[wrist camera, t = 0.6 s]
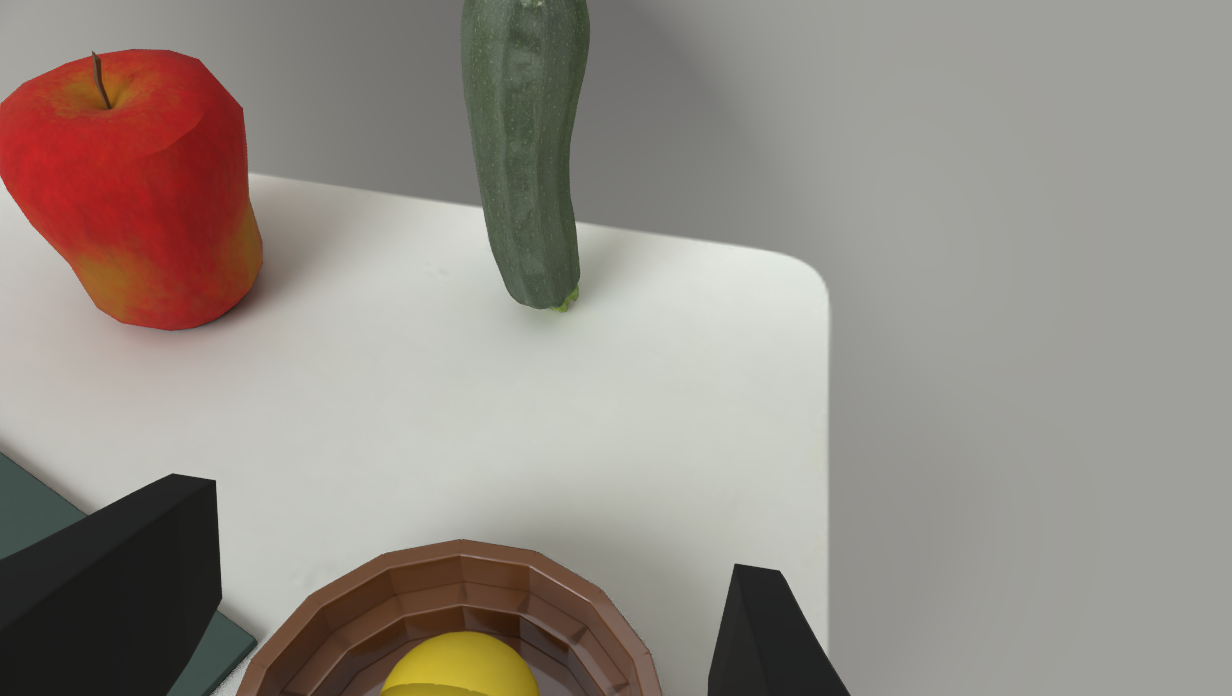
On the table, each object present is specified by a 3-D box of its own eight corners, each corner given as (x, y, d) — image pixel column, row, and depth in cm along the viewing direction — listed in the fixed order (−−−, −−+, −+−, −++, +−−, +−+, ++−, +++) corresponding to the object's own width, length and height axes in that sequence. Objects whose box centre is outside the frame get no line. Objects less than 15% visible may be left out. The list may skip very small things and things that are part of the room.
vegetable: (520, 360, 40) (501, -130, 25) (461, 302, 42) (410, -184, 27) (600, 313, 42) (627, -167, 27) (540, 260, 44) (534, -214, 29)
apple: (240, 203, 45) (166, -32, 36) (321, 306, 41) (258, 70, 32) (54, 275, 42) (-80, 32, 33) (121, 396, 37) (-11, 156, 29)
